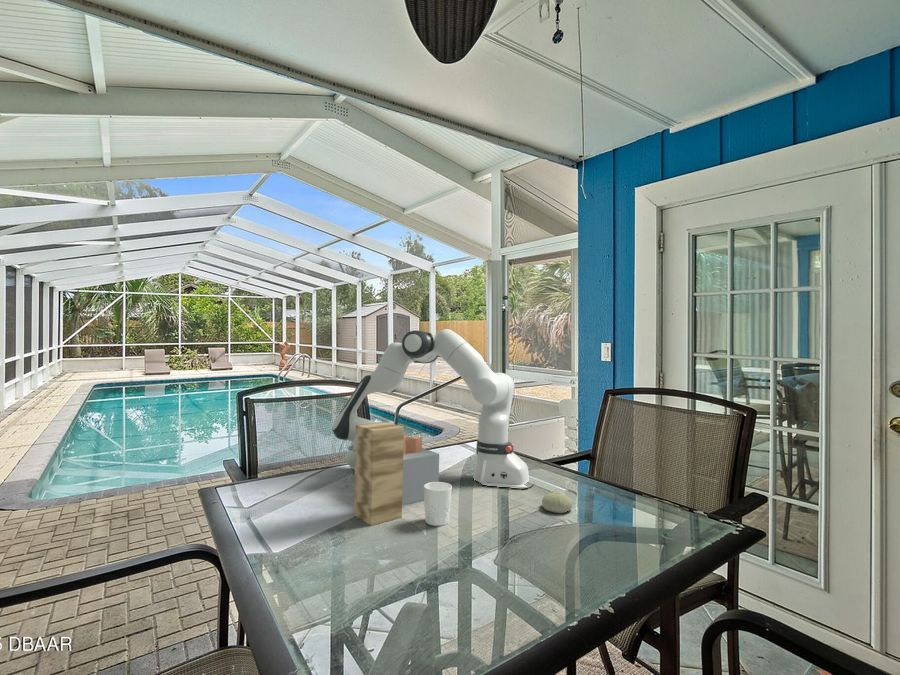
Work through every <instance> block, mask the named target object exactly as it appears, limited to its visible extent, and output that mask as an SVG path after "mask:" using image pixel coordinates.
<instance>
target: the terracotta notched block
mask: <svg viewBox="0 0 900 675" xmlns="http://www.w3.org/2000/svg"><path fill="white" fill-rule="evenodd" d="M422 448H423V437H421V436H419V435H418V436H416V435H413V436H410V435H409V436H408V435H406V436H405V435H404V444H403V455H404V454H410V453H416V452H422Z"/></svg>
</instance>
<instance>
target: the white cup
mask: <svg viewBox="0 0 900 675" xmlns="http://www.w3.org/2000/svg"><path fill="white" fill-rule="evenodd" d="M452 490H453V486H452V484H450V483H448V482H443V481H439V482H430V483H427V484H425V485H424V500H423V504H424V521H425V523H426V524H427V525H430V526H434V527H440V526H445V525H448V524H449V522H450V518H451V517H450V516H451V515H450V513H451V506H452V505H451V504H452V495H453V494H452V492H453V491H452Z"/></svg>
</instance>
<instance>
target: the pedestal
mask: <svg viewBox="0 0 900 675" xmlns="http://www.w3.org/2000/svg"><path fill="white" fill-rule="evenodd" d="M404 428H405V427H404V426H403V425H402V426H401V425H398V424H395V423H391V422H388V421H379V422H376V423H368V424H359V425H356V435H355V468H354V483H353V487H354V490H353V493H354V494H353V516H355V517H357V518H358V519H359V520H361V521H363V522H364V523H366V524H367V525H369V526H371V527H372V526H375V525H378V524H383V523H387V522H390V521H394V520H398V519H402V517H403V506H402V488H403V444H404V431H405V429H404Z"/></svg>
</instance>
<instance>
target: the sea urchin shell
mask: <svg viewBox="0 0 900 675" xmlns="http://www.w3.org/2000/svg"><path fill="white" fill-rule="evenodd" d="M541 502H542V503H541V505H542V507H543V509H544V510H545V511H548V512H550V513H555V514H565V512H566V513H568V512H570V511H571V510H572V508H573V502H572V499H571V498H570V497H569V496H568V495H567V494H565V493H564V492H561V491H552V492H547V493H546V494H545V495H544V496H543V498H542V499H541ZM567 511H568V512H567Z"/></svg>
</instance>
